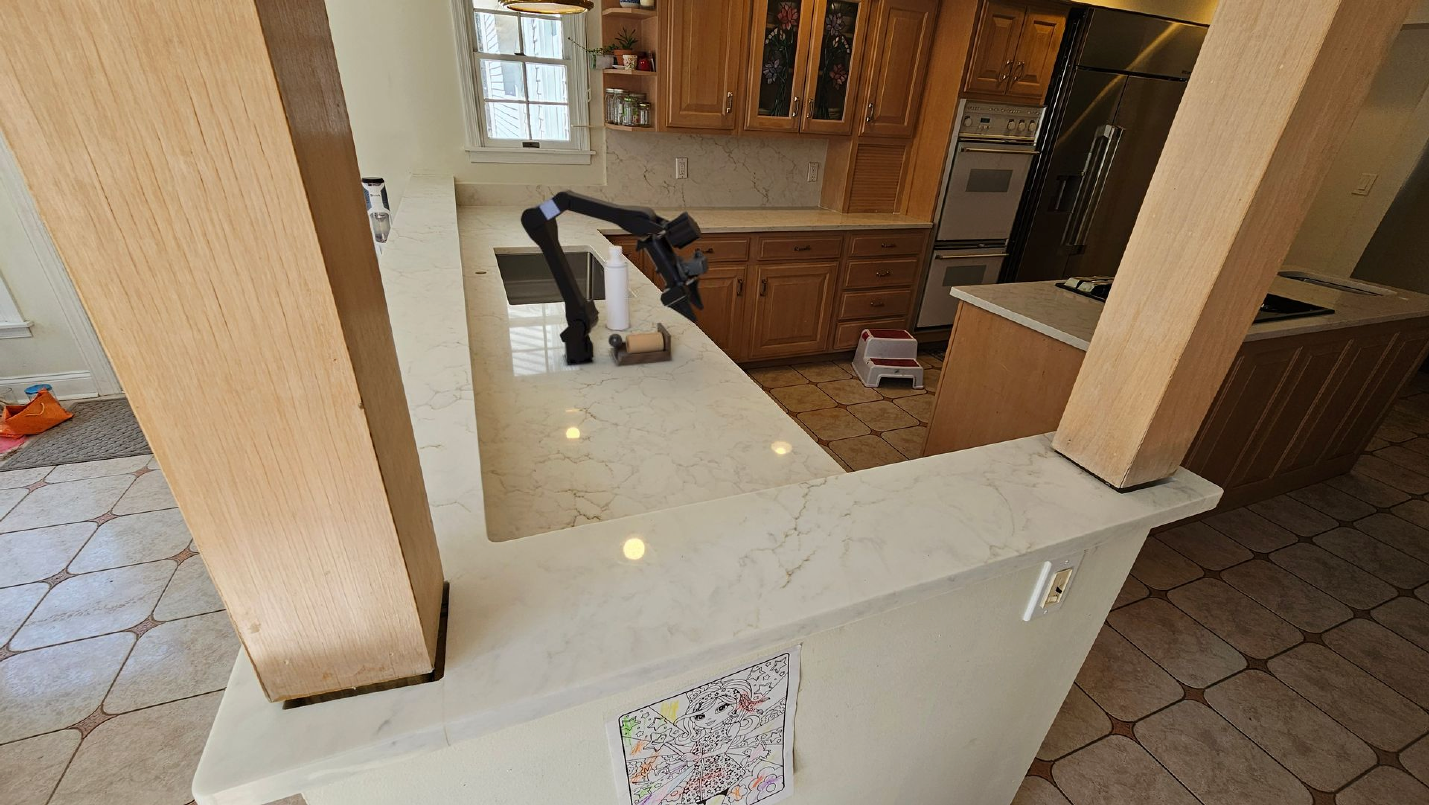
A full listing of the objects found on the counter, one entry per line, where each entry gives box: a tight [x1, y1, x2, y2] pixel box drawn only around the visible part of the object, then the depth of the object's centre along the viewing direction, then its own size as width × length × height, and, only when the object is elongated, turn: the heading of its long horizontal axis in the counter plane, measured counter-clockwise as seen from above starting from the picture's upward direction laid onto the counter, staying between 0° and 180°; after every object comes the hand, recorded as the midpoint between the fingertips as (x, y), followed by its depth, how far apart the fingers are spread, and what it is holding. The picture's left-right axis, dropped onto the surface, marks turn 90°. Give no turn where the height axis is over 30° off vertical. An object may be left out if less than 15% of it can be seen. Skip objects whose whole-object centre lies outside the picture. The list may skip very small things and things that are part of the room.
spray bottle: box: [603, 245, 630, 331], centre depth 175 cm, size 7×7×25 cm
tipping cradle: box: [607, 322, 672, 367], centre depth 160 cm, size 15×10×7 cm, turn 110°
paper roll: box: [625, 331, 664, 354], centre depth 160 cm, size 9×5×5 cm, turn 110°
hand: (698, 315), depth 147 cm, fingers open, 9 cm apart
